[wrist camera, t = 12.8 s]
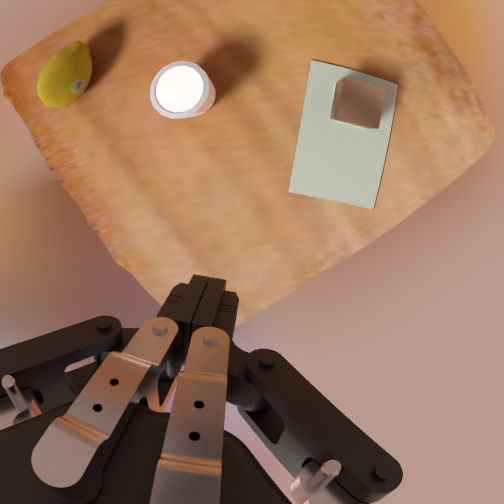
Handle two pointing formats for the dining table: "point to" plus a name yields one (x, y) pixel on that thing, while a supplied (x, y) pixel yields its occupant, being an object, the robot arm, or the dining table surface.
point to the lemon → (65, 76)
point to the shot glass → (182, 90)
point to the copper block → (357, 103)
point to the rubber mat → (339, 142)
